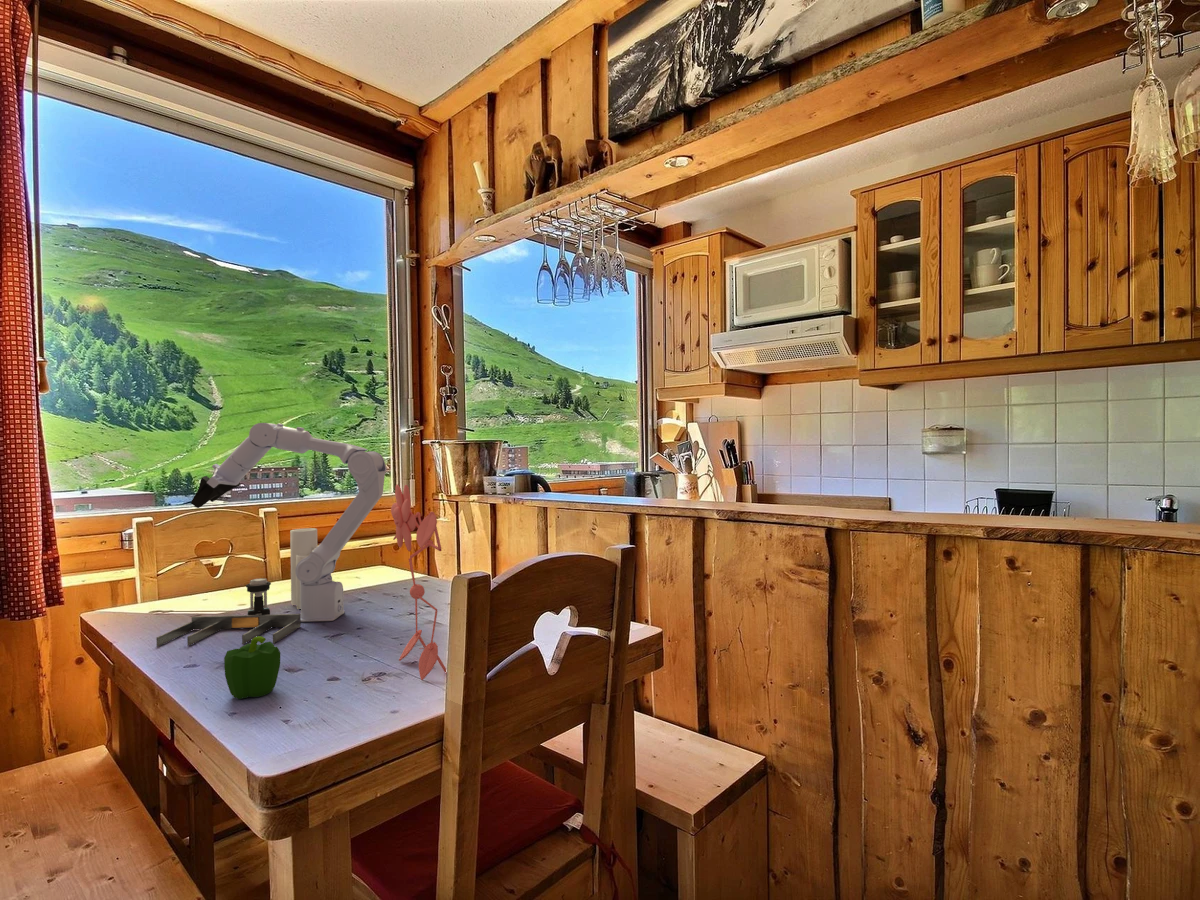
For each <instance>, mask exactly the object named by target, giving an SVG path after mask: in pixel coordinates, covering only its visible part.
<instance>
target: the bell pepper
mask: <svg viewBox="0 0 1200 900" xmlns="http://www.w3.org/2000/svg"><path fill="white" fill-rule="evenodd" d="M258 642H259V643H260V644H258ZM223 664H224V676H225V679H226V683H227V688H228V690H229V692H230V695H231V696H232V697H233V698H234V699H238V700H241V699H247V698H257V697H259V698H260V697H264V696H267V695H268V694H270V693H272V692H273V690H274V688H275V687H276V685H277V679H278V676H279V673H280V667H281V651H280V649H279V647H278V646H275V644H274V643H273V642H271V641H266V638H265V637H264V636H262V635H259V636H257V637H255V638H253V639H252V640H251V641H250V642H247V643H246V644H243V645H242V646H240V647H239V648H233V649H229V650H227V651H226V653H225V655H224V657H223Z"/></svg>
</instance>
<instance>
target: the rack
mask: <svg viewBox="0 0 1200 900" xmlns="http://www.w3.org/2000/svg"><path fill="white" fill-rule="evenodd" d="M301 623H302V622H301V613H281V614H280V613H279V614H275V613H274V614H270V615H248V614H246V615H244V614H243V615H239V614H238V615H203V616H191V621H190V622H188V623H186V624H183V625H180V626H179V627H177V628H174V629H172V630H169V631H168V632H165V633H163V634H161V635H158V636H156V647H157V646H159V647H161V646H163V645H165V644H167V643H169V642H168V641H170V640H172V639H174V638H176V637H178V636H180V637H182V636H184V635H186V634H188V633H190V632H189V631H191V630H193V629H202V630H197V631H196V632H194V633H192V634H190V635H188V636H187V641H186V642H187V646H188V645H190V646H192V645H194V644H196V643H198V642H200V641H201V639H202V640H203V638H204V639H206V638H207V636H208V637H209V635H210V636H211V634H212V635H213V633H214V634H215V632H216V631H217V632H219V631H221V630H232V629H231V628H253V629H249V631H247V632H245V633H243V634H242V635H241V639H242V641H241V644H242V645H245V644H244V643H246V642H247V643H249V642H251V641H250V640H251V639H253V638H255V637H256V636H258V635H259V636H261V635H262V634H264V633H266V632H267V631H269V630H271V629H272V628H271V627H284V628H280V629H279V630H278V631H275V632H274V633H272V644H276V643H278V642H279V641H281V640H283V639H284V638H285V637H287V636H289V635H290V634H291V633H293V632H295V631H296V630H298V629H299V628H301V627H300V626H301ZM255 627H256V628H255ZM270 628H271V629H270ZM297 628H298V629H297ZM220 629H221V630H220ZM268 629H269V630H268ZM218 630H219V631H218ZM266 630H267V631H266ZM294 630H295V631H294ZM193 631H194V630H193ZM265 631H266V632H265ZM187 632H188V633H187ZM191 632H192V631H191ZM217 632H216V633H217ZM263 632H264V633H263ZM185 633H186V634H185ZM261 633H262V634H261ZM183 634H184V635H183ZM260 634H261V635H260ZM181 635H182V636H181ZM286 635H287V636H286ZM205 637H206V638H205ZM283 637H284V638H283ZM178 638H179V637H178ZM176 639H177V638H176ZM280 639H281V640H280ZM174 640H175V639H174ZM199 640H200V641H199ZM172 641H173V640H172ZM197 641H198V642H197ZM248 641H249V642H248ZM277 641H278V642H277ZM166 642H167V643H166ZM170 642H171V641H170ZM195 642H196V643H195ZM275 642H276V643H275ZM164 643H165V644H164ZM193 643H194V644H193ZM247 643H246V644H247ZM162 644H163V645H162ZM191 644H192V645H191ZM160 645H161V646H160Z"/></svg>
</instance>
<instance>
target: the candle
mask: <svg viewBox="0 0 1200 900" xmlns="http://www.w3.org/2000/svg"><path fill="white" fill-rule="evenodd" d="M289 533H290V535H289V536H290V543H289V545H290V598H291V599H290V602H291V603H290V605H291V604H292V605H291V606H293V605H297V606H296V610H298V609H300V580H299V579H298V578H297V576H296V573H295V570H296V566H297V564H298V563H299V562H300V561H301V560H302V559H304V558H306V557H308V556H309V555H310V553H311V552H312V551H313V550H314V549H315V548H316V547H318V546H319V545H318V528H315V527H314V528H311V527H309V528H306V527H305V528H295V529H292V530H290V532H289Z"/></svg>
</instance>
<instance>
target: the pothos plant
mask: <svg viewBox="0 0 1200 900" xmlns="http://www.w3.org/2000/svg"><path fill="white" fill-rule="evenodd" d="M394 496H395V497H394V498H395V502H393V503H392V505H391V507H390V513H391V516H392V518H393V521H394V525H395V536H394V537H393V541H395V540H396V543H397V546H398V547H399V548H402V547H403V543H404V544H405V545H404V546H405V547H406V550H407V551H408V552H411V550H412V541H413V540H412V538H413V537H412V533H411V532H413V531H415V529H416V528H417V530H416V534H415V535H416V537H415V539H416V542H417V545H418V546H419V549H418V550H416V551H415V552H414V553H412V554H411V555H409V558H408V562H409V568H410V574H411V579H412V583H413V585H412V586H411V587H410V589H409V594H410V597H411V598H412V599H414V603H415V605H414V607H415V608H414V609H415V610H414V611H415V612H414V613H415V633H414V634H413V635H412V637H411V638H410V639H409V641H408V642H407V644H406V646H405V647H404V649H403V651H402V652H401V654H400V657H399V659H398V661H399V662H401V661H402V660H403V659H405V658H406V657H407V656H408V655H409V654H410V653H411V652H412V650H413V648H414V647H415V646H416V644H417V642H418V641H419V642H420V644H421V646H422V647H420V648H419V650H422V652H421V654H420V657H419V660H418V673H419V676H420V681H424V679H425V678H426V677H427V676H428V675H429V674H430V672H431V671H432V670H433V668H434V667H435V665H436V663H437V662H438V663H439V665H440V668H441V669H442V670H443V672H444V673H445V672H446V669H447V668H446V666H445V665H444V663H443V661H442V659H441V658H440V656H439V645H438V644H437V643H436V642H435V641H434V636H435V629H436V624H437V616H438V609H437V608H436V607H435V606H433V604H432V603H430V602H429V601H427V600H426V599H425V598H423V596H425V592H426V591H425V588H424V586H423V585H421V584H417V583H416V578H415V573H414V568H413V567H414V566H413V560H412V559H413V558H414V557H415V556H417V555H418V554H420V553H422V551H424V550H425V549H427V548H428V547H431V548H433V549H435V550H437V551H439V552H442V545H441V539H440V536H439V532H438V531H439V530H438V528H437V524H438V519H437V514H436V513H435V512H434V511H430V512H429V513H428V514H427V515H426V516H425V517H424V518H423V519H421V512H419V511H417V512H416V513H415V514H414V513H413V511H412V509H411V507H412V503H411V501H412V500H411V492H410V487H409V486H408V485H407V484H404V486H403V491H402V488H401V487H400V486H399V484H397V483H396V485H395V492H394ZM417 520H418V521H417ZM433 535H435V539H436V544H437V545H435V544H434V541H433V540H431V538H432V536H433ZM418 599H420V600H421V601H422V602H424V603H425V604H426V605H428V606H429V607H430V608H432V609H433V610H434V618H433V623H432V630H431V638H430V642H429V643H428V644H426V642H425V641H424V640H423V638H422V636H421V635H422V632H423V631H422V629H418Z"/></svg>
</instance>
